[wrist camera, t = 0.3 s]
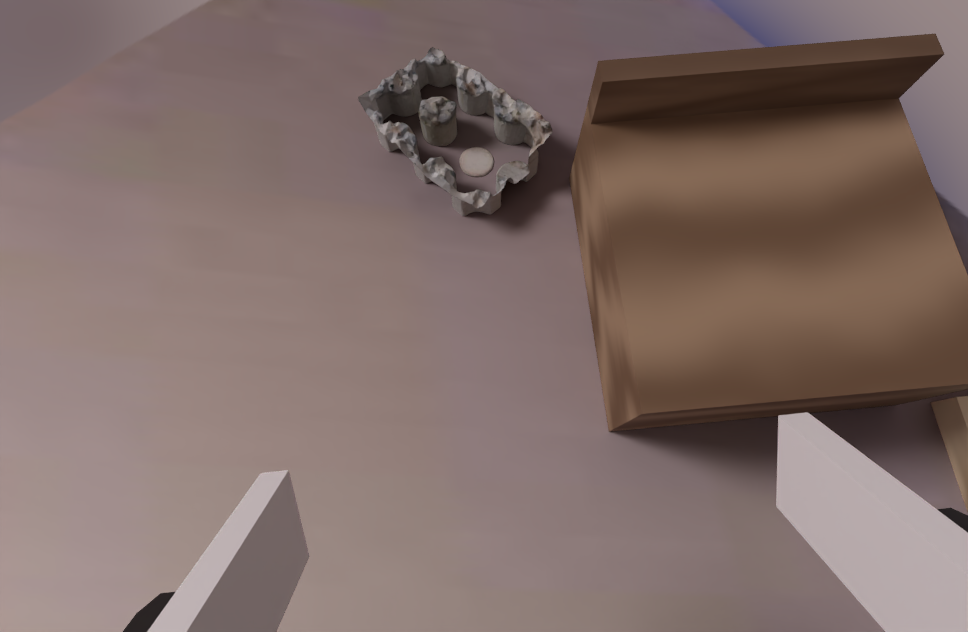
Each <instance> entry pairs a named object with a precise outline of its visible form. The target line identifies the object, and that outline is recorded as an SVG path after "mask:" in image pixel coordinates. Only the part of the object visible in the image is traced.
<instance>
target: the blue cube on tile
mask: <svg viewBox="0 0 968 632" xmlns="http://www.w3.org/2000/svg"><path fill="white" fill-rule="evenodd" d="M930 403H931V406H932V408H933V411H934V414H935V417H936V420H937V423H938V426H939V429H940V432H941V435H942V438H943V441H944V444H945V447H946V450H947V453H948V456H949V458H950V461H951V464H952V467H953V470H954V473H955V476H956V479H957V482H958V485H959V488H960V491H961V494H962V497H963V500H964V503H965V506H966V508H967V511H968V396H962V397H954V398H949V399H945V400H940V401H935V402H930Z"/></svg>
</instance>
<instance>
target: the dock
mask: <svg viewBox="0 0 968 632" xmlns="http://www.w3.org/2000/svg"><path fill="white" fill-rule="evenodd" d="M943 55H944V52H943V50H942V47H941V45H940V43H939V41H938V39H937V36H936V34H925V35H914V36H901V37H889V38H876V39H864V40H851V41H839V42H827V43H816V44H815V43H814V44H802V45H790V46H777V47H765V48H752V49H740V50H728V51H715V52H703V53H691V54H678V55H666V56H654V57H641V58H629V59H617V60H604V61H598V64H597V68H596V73H595V77H594V81H593V85H592V89H591V93H590V97H589V101H588V105H587V109H586V113H585V117H584V121H583V125H582V129H581V133H580V137H579V141H578V145H577V149H576V153H575V157H574V161H573V165H572V169H571V173H570V177H569V180H570V187H571V193H572V199H573V206H574V212H575V218H576V225H577V231H578V237H579V244H580V250H581V257H582V263H583V269H584V276H585V282H586V288H587V295H588V301H589V307H590V314H591V320H592V327H593V333H594V339H595V346H596V352H597V358H598V365H599V371H600V377H601V384H602V390H603V397H604V403H605V409H606V416H607V422H608V428H609V432H610V431H620V430H631V429H642V428H653V427H664V426H675V425H686V424H696V423H707V422H718V421H729V420H740V419H751V418H761V417H772V416H779V415H788V414H797V413H806V412H808V413H816V412H826V411H837V410H848V409H859V408H870V407H881V406H892V405H898V404H903V403H907V402H912V401H916V400H921V399H926V398H930V397H935V396H939V395H944V394H948V393H953V392H957V391H962V390H966V389H968V275H967V272H966V270H965V267H964V264H963V262H962V259H961V257H960V254H959V252H958V249H957V247H956V244H955V241H954V239H953V236H952V234H951V231H950V229H949V226H948V223H947V221H946V218H945V216H944V213H943V211H942V208H941V206H940V203H939V200H938V198H937V195H936V193H935V190H934V188H933V185H932V183H931V180H930V177H929V175H928V172H927V170H926V167H925V164H924V162H923V159H922V157H921V154H920V152H919V149H918V147H917V144H916V141H915V139H914V136H913V134H912V131H911V129H910V126H909V123H908V121H907V118H906V116H905V114H904V111H903V108H902V106H901V103H900V101H899V98H900V97H901V96H902V95H903V94H904V93H905V92H906V91H907V90H908V89H909V88H910V87H911V86H912V85H913V84H914V83H915V82H916V81H917V80H918V79H919V78H920V77H921V76H922V75H923V74H924V73H925V72H926V71H927V70H928V69H929V68H930V67H931V66H933V65H934V64H935V63H936V62H937V61H938V60H939V59H940V58H941V57H942V56H943Z"/></svg>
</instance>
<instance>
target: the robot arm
mask: <svg viewBox="0 0 968 632" xmlns="http://www.w3.org/2000/svg"><path fill="white" fill-rule="evenodd" d="M776 507H777V508H778V509H779V510H780V511H781V512H782V513H783V515H784V516H785V517H786V518H787V519H788V520H789V521H790V523H791V524H792V525H793V526H794V527H795V528H796V529H797V531H798V532H799V533H800V534H801V535H802V536H803V538H804V539H805V540H806V541H807V542H808V543H809V544H810V546H811V547H812V548H813V549H814V550H815V551H816V552H817V554H818V555H819V556H820V557H821V558H822V559H823V561H824V562H825V563H826V564H827V565H828V566H829V567H830V569H831V570H832V571H833V572H834V573H835V574H836V575H837V577H838V578H839V579H840V580H841V581H842V582H843V584H844V585H845V586H846V587H847V588H848V589H849V590H850V592H851V593H852V594H853V595H854V596H855V597H856V598H857V600H858V601H859V602H860V603H861V604H862V605H863V606H864V608H865V609H866V610H867V611H868V612H869V613H870V615H871V616H872V617H873V618H874V619H875V620H876V621H877V623H878V624H879V625H880V626H881V627H882V628H883V629H884V631H885V632H968V516H967V515H965V514H963V513H961V512H959V511H956V510H954V509H952V508H946V509H936V508H934V507H933V506H932V505H930V504H929V503H928V502H926V501H925V500H924V499H922V498H921V497H920V496H918V495H917V494H916V493H914V492H913V491H912V490H910V489H909V488H908V487H906V486H905V485H904V484H902V483H901V482H900V481H898V480H897V479H896V478H894V477H893V476H892V475H890V474H889V473H888V472H886V471H885V470H884V469H882V468H881V467H880V466H878V465H877V464H876V463H874V462H873V461H872V460H870V459H869V458H868V457H866V456H865V455H864V454H862V453H861V452H860V451H858V450H857V449H856V448H854V447H853V446H852V445H850V444H849V443H848V442H846V441H845V440H844V439H842V438H841V437H840V436H838V435H837V434H836V433H834V432H833V431H832V430H830V429H829V428H828V427H826V426H825V425H824V424H823V423H821V422H820V421H819V420H817V419H816V418H815V417H813V416H812V415H811V414H809V413H808V412H806V413H797V414H788V415H779V416H778V453H777V496H776ZM308 558H309V553H308V548H307V544H306V540H305V536H304V532H303V528H302V523H301V519H300V515H299V511H298V507H297V503H296V498H295V494H294V490H293V486H292V482H291V478H290V473H289V470H284V471H275V472H266V473H261V474H260V475H259V476H258V478H257V479H256V481H255V482H254V483H253V485H252V486H251V488H250V489H249V490H248V492H247V493H246V494H245V496H244V497H243V499H242V500H241V501H240V503H239V504H238V506H237V507H236V508H235V510H234V511H233V513H232V514H231V515H230V517H229V518H228V520H227V521H226V522H225V524H224V525H223V527H222V528H221V529H220V531H219V532H218V534H217V535H216V536H215V538H214V539H213V541H212V542H211V543H210V545H209V546H208V548H207V549H206V550H205V552H204V553H203V555H202V556H201V557H200V559H199V560H198V562H197V563H196V564H195V566H194V567H193V568H192V570H191V571H190V573H189V574H188V575H187V577H186V578H185V580H184V581H183V582H182V584H181V585H180V587H179V588H178V589H177V591H176V592H170V593H161V594H159V595H158V596H157V597H156V598H155V599H153V600H152V601H151V602H150V603H149V604H147V605H146V606H145V607H144V608H143V609H141V610H140V611H139V612H138V613H137V614H136V615H135V616H134V618H133V619H132V620H131V622H130V623H129V624H128V625H127V627H126V628H125V629H124V631H123V632H276V631H277V629H278V627H279V624H280V622H281V620H282V617H283V615H284V613H285V611H286V608H287V606H288V604H289V601H290V599H291V597H292V595H293V592H294V590H295V588H296V586H297V583H298V581H299V579H300V576H301V574H302V572H303V570H304V567H305V565H306V563H307V560H308Z"/></svg>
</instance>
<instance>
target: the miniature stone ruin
mask: <svg viewBox="0 0 968 632" xmlns="http://www.w3.org/2000/svg"><path fill="white" fill-rule="evenodd" d="M427 84H430V85H433V86H435V87H445V86H448V85H450V84H453V85H455V86H456V87H457V91H458V102H459V106H460V108H461V109H462V111H464V112H465V113H467V114H470V115H474V116H476V115H481V114H484V113H487V114H488V115H490V116H492V117H493V118H494V130H495V135H496V137H497V139H498V140H499V141H501V142H503V143H505V144H508V145H515V144H520V143H522V142H525V143H526V144H528V145H529V146H530V147H531V148H532V149H531V150H530V154H529V160H528V164H525V163H524V162H521V161H513V162H509V163H506V164H504V165H502V166H501V167H500V169H499V170H498V172H497V175H496V194H495V195H491V193H490V192H484V191H482V190H476V191H474V192H469V193H461V192H458V191H457V184H456V174H455V172H454V170H453V168H452V167H451V166H449V165H448V164H447V163H446V162H445V161H444V160H443V157H437V158H429V159H428V161H427V162H426V163H425V164H423V165H422V164H421V162H420V157H419V152H418V148H417V138H416V136H415V135H414V134H413V131H412V129H411V128H410V127H409V126H408V125H407V124H405V123H400V122H397V123H395V124H393V123H392V122H391V121H388V122H387V123H385V124H384V123H383V120H385V119H386V118H387V117H388V116H390V115H391V114H396V115H398V116H404V117H405V116H412V115H414V114H416V113H417V112H418V113H419V118H420V123H421V128H422V133H423V137H424V139H425V140H426V141H427V142H428V143H429V144H431V145H434V146H446V145H448V144H450V143H452V142H453V140H454V139H455V138H456V136H457V123H456V106H457V105H456V103H455V102H454V101H450V100H448V99H447V98H445V97H443V96H439V97H431V98H429V99H426V100H422V98H421V93H420V90H421V89H422V88H423V87H424V86H425V85H427ZM358 99H359V102H360V103H361V105H362V107H363V108H364V110H365V112H366V113H367V114H368V116H369V117H370V119H371V120H372V121H373V122H374V124H375V128H376V131H377V134H378V138H379V140H380V143H381V145H382V146H383V147H384V148H385V149H386V150H388V151H389V152H392V151H394V150H396V149H401V151H402V152H403V153H404V154H405V155H406V156H407V157H408V158H409V159H410V160H411V161H412V162H413V164H414V169H415V174H416V176H417V177H418V178H419V179H421V180H422V181H423V182H424V183H426V184H427V183H429V182H432V181H433V182H434V183H436V184H437V185H439V186H440V187H442V188H443V189H444V190H446V191H447V192H448V193H450V194H451V196H452V205H453V208H454V209H455V210H456V211H457V212H458V213H459V214H461V215H462V216H466V215H468V214H469V213H472V212H483V213H486V214H488V215H489V214H492V213H493V212H495V211H496V210H497V209H499V208H500V206H501V190H502V189H503V188H504V187H505V185H506V181H509V182H511V183H513V184H515V183H517V182H519V181H520V180H523V181H526V182H527V181H528V180H530V179H531V178H532V177H533V176H534V175H535V174H536V173H537V165H538V154H539V153H538V151H537V148H538V147H539V146H540V145H541V144H544V142H545V140H546V139H547V138H548V137H549V136H550V135H551V134H552V128H551V127H550V126H551V125H550V123H549V122H547V121H545V120H544V119H543V117H542V115H541V114H539V113H538V112H537V111H534V110H533V109H532V108H531V107H530V106H529V105H528V104H526V103H524V102H522V101H521V100H519V99H517V100H516V101H514V100H513V99H512V98H511V97H510V96H509V95H508V94H507V93H506V92H505V91H504V90H503V89H502V88H500V89H498V88H497V87H496V86H495V85H493V84H492V83H491V82H489V81H488V80H487V79H486V78H485V77H484V76H483V75H482V74H481V73H479V72H477V71H475V70H473V69H471V68H469V67H467V66H463V65H461V64H459V63H458V62H456V61H449V60H448V59H447V58H446V56H445V54H444V53H443V52H442V51H441V50H439V49H435V48H433V47H432V48H431V49H430V50H429V51H428V54H427V55H426V57H424V58H423V59H421V60H419V61H417V60H416V59H415V58H414V59H412V60H411V61H410V63H409V64H408V66H407V67H406V68H404V69H400V70H397V71H396V72H395V73H394V74H393V75H392V76H390V77H388V78H386V79H382V82H381V83H380V85H379V86H378V88H377V89H374V90H370V91H368V92H366V93H364V94H363V95H361V96H359V97H358ZM459 162H460V167H461V169H462V171H463V172H464V173H465V174H467V175H469V176H471V177H482V176H485V175H487V174H488V173H489V172H490V171H491V170H492V167H493V164H494V160H493V156H492V155H491V154H490V152H489V151H487V150H486V149H483V148H480V147H473V148H469V149H467V150H465V151H464V152H463V153H462V155H461V157H460V160H459Z"/></svg>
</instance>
